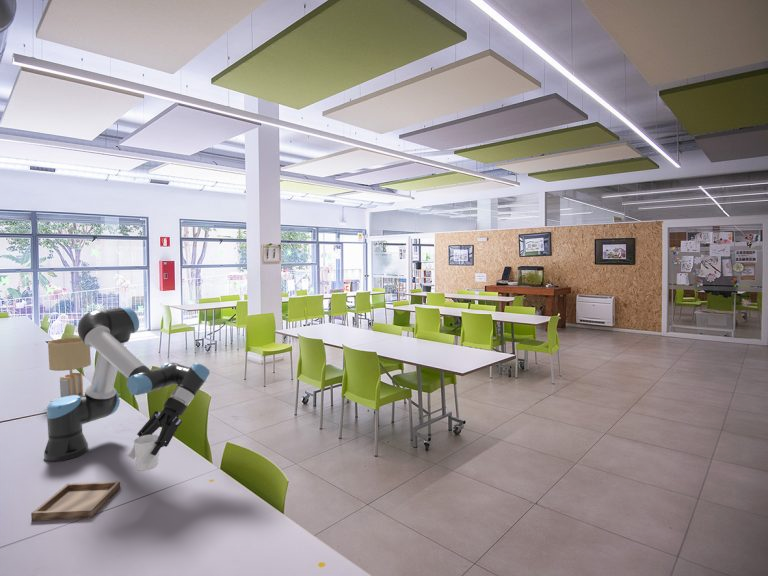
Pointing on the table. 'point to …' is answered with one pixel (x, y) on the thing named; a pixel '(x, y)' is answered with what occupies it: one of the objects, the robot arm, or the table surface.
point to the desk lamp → (69, 363)
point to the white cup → (145, 451)
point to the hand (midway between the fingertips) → (137, 460)
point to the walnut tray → (76, 501)
